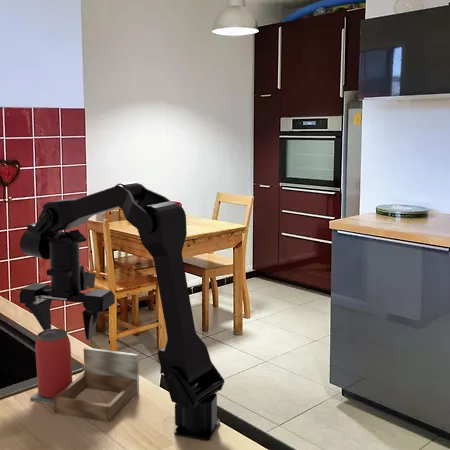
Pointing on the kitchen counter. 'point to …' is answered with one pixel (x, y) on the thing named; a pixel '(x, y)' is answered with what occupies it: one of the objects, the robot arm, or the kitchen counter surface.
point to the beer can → (53, 362)
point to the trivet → (41, 398)
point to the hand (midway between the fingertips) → (68, 337)
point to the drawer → (101, 385)
